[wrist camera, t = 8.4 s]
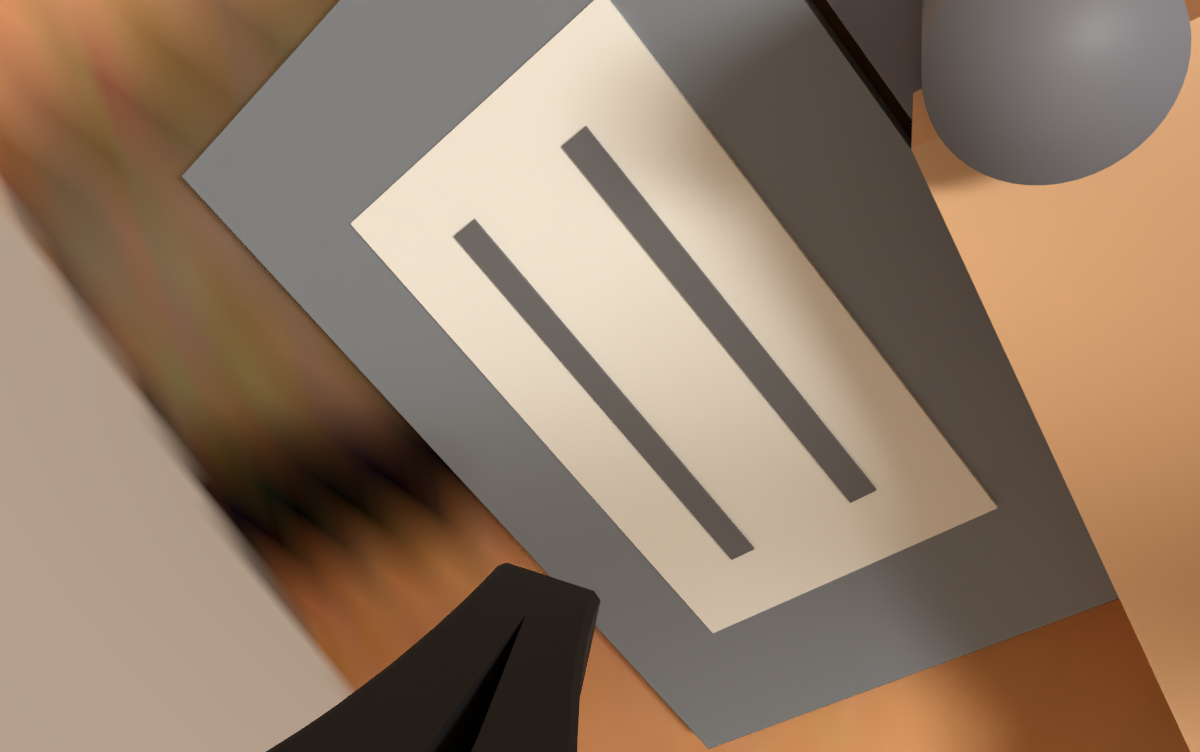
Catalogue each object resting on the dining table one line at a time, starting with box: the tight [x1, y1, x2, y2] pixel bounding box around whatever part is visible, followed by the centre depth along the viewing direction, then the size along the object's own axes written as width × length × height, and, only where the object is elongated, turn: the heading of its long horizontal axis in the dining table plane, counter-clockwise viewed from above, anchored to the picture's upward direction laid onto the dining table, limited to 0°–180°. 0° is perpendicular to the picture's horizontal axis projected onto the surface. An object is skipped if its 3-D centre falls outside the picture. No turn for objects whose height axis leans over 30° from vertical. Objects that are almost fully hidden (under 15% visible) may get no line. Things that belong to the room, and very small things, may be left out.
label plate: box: [182, 0, 1119, 749], centre depth 20 cm, size 18×12×1 cm, turn 41°
